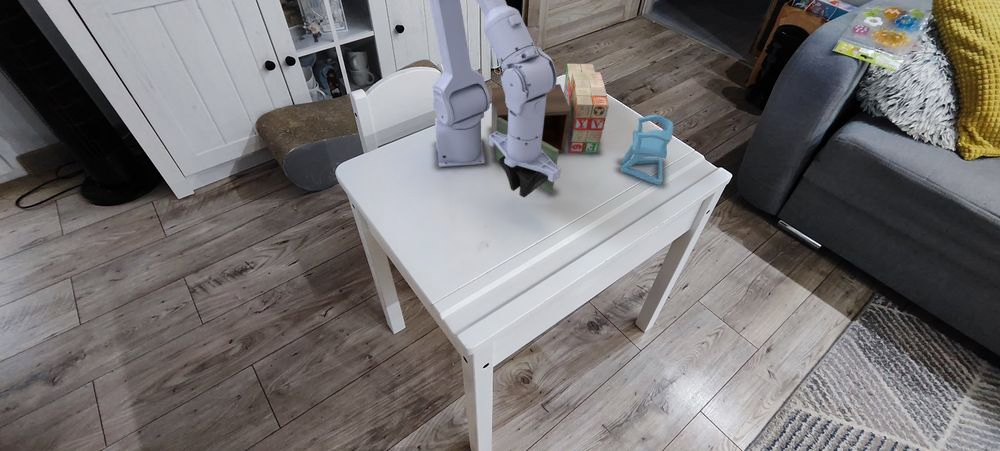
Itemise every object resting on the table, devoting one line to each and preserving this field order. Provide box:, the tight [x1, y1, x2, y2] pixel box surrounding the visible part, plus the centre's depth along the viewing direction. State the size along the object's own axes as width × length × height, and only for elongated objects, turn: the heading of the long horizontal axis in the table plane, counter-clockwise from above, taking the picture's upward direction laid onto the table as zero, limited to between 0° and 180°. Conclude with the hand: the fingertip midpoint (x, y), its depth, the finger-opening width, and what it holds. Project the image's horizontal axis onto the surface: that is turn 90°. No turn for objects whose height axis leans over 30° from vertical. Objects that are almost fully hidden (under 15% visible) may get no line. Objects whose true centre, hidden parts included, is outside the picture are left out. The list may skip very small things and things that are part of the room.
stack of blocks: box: [563, 63, 610, 154], centre depth 101 cm, size 21×6×12 cm, turn 179°
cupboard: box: [491, 83, 571, 155], centre depth 97 cm, size 10×15×11 cm
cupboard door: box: [495, 117, 560, 197], centre depth 87 cm, size 8×15×10 cm, turn 47°
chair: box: [620, 114, 674, 186], centre depth 90 cm, size 8×8×12 cm
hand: (520, 190), depth 84 cm, fingers closed
